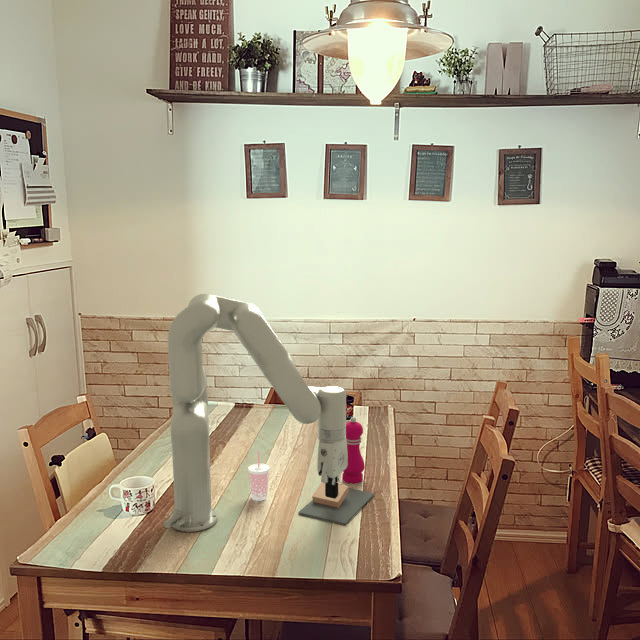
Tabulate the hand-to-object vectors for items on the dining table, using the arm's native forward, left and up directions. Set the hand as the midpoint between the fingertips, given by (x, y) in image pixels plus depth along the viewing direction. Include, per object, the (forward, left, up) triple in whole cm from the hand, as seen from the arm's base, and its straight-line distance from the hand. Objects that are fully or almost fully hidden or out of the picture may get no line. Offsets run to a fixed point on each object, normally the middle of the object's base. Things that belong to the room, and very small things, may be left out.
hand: (331, 496), depth 181 cm
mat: (+4, 0, -4) cm, 6 cm away
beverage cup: (-2, +22, -4) cm, 23 cm away
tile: (+1, +2, -3) cm, 4 cm away
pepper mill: (+21, +3, -4) cm, 22 cm away
